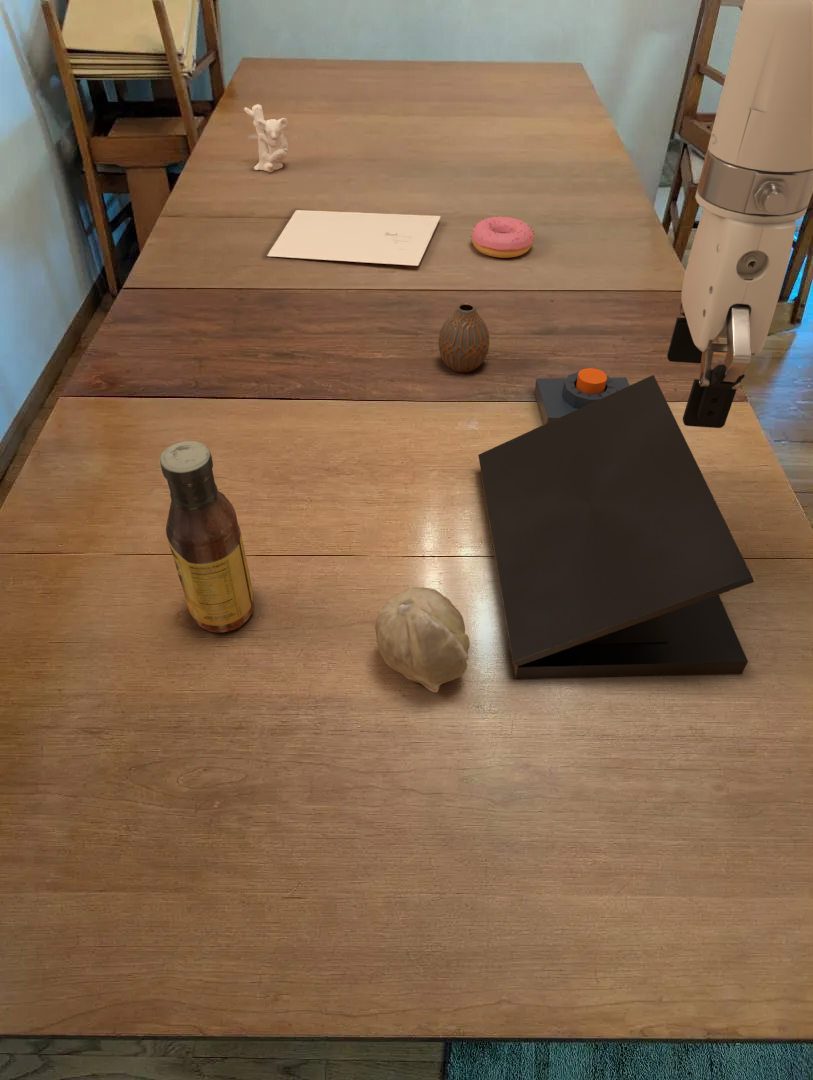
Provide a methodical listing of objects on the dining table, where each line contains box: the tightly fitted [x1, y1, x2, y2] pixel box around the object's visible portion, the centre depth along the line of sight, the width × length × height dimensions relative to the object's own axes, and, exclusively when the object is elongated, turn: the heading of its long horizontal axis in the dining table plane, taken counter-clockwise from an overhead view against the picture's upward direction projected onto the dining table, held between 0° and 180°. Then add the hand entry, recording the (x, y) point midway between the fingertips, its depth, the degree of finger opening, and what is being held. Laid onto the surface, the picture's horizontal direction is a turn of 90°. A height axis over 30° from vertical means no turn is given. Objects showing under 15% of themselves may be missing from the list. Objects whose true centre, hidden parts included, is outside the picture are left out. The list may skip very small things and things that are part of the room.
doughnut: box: [470, 215, 535, 259], centre depth 137 cm, size 11×11×4 cm
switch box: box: [534, 370, 631, 425], centre depth 102 cm, size 12×9×4 cm
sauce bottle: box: [159, 440, 255, 633], centre depth 70 cm, size 6×6×20 cm
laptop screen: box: [477, 374, 755, 666], centre depth 78 cm, size 21×30×1 cm
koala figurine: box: [243, 103, 289, 173], centre depth 161 cm, size 8×7×12 cm
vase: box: [438, 302, 490, 373], centre depth 108 cm, size 7×7×9 cm
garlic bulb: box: [374, 586, 471, 693], centre depth 70 cm, size 9×8×10 cm
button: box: [576, 367, 608, 394], centre depth 100 cm, size 4×4×2 cm
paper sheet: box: [266, 209, 442, 266], centre depth 141 cm, size 24×29×1 cm
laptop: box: [480, 469, 749, 680], centre depth 83 cm, size 21×30×2 cm
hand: (693, 391), depth 67 cm, fingers open, 9 cm apart
